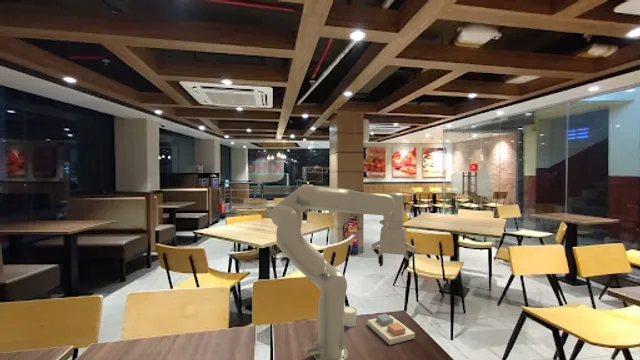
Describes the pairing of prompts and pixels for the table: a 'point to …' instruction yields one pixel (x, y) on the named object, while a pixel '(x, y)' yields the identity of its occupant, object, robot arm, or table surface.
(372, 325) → the board
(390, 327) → the key terracotta
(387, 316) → the key slate
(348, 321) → the shot glass
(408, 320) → the table surface
